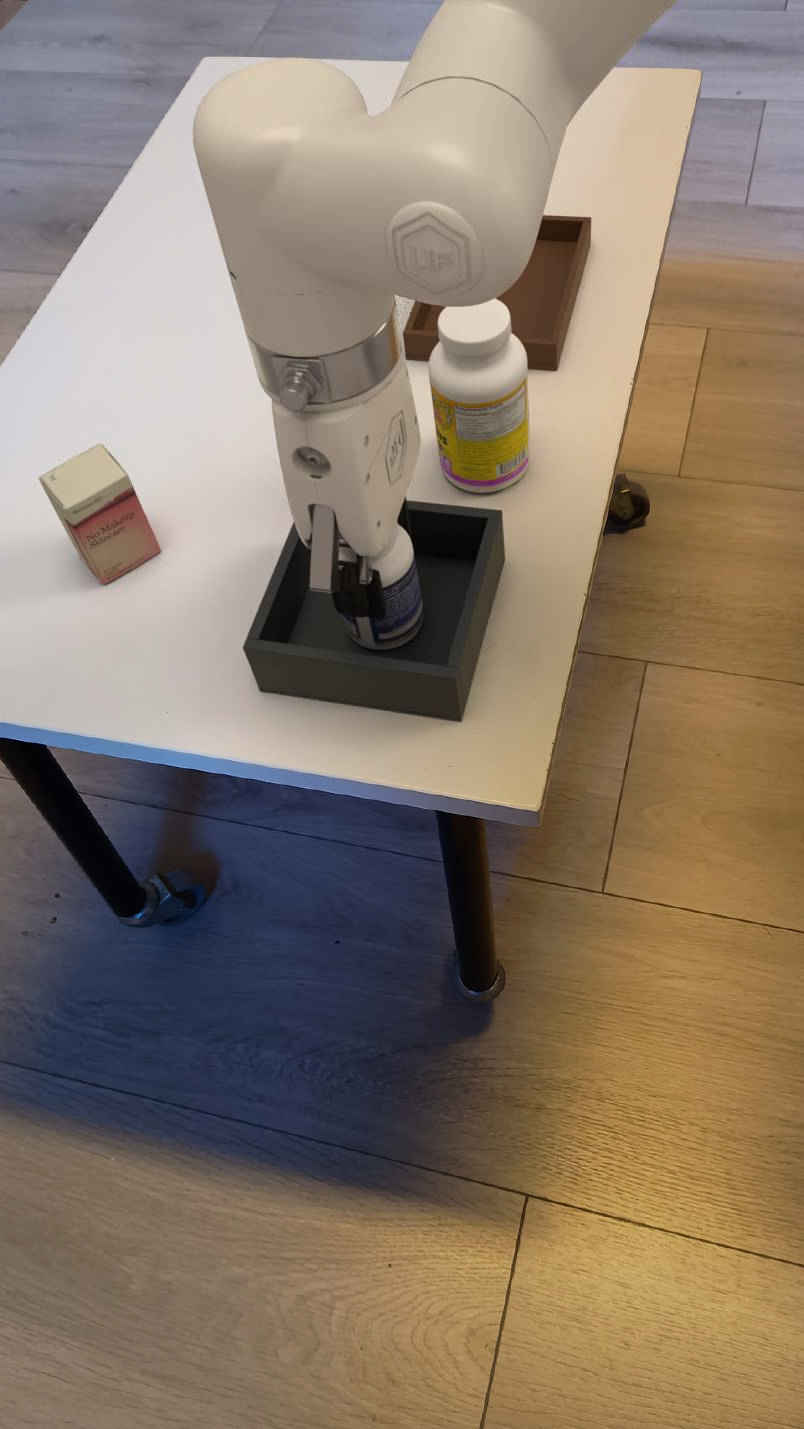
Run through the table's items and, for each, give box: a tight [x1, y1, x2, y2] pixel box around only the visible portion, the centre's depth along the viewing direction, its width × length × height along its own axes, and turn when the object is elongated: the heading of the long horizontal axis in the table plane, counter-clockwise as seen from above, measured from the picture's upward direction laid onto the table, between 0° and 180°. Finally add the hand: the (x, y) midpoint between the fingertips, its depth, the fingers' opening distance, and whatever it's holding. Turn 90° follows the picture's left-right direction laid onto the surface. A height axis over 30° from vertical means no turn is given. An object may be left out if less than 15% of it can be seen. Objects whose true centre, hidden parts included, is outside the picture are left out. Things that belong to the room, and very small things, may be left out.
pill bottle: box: [339, 522, 424, 650], centre depth 70 cm, size 5×5×10 cm
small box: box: [38, 443, 162, 585], centre depth 78 cm, size 5×4×8 cm
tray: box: [402, 214, 592, 371], centre depth 91 cm, size 16×12×2 cm
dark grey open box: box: [242, 499, 506, 723], centre depth 73 cm, size 14×14×5 cm
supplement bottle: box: [427, 299, 531, 494], centre depth 76 cm, size 7×7×13 cm
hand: (374, 572), depth 70 cm, fingers closed on pill bottle, 5 cm apart
